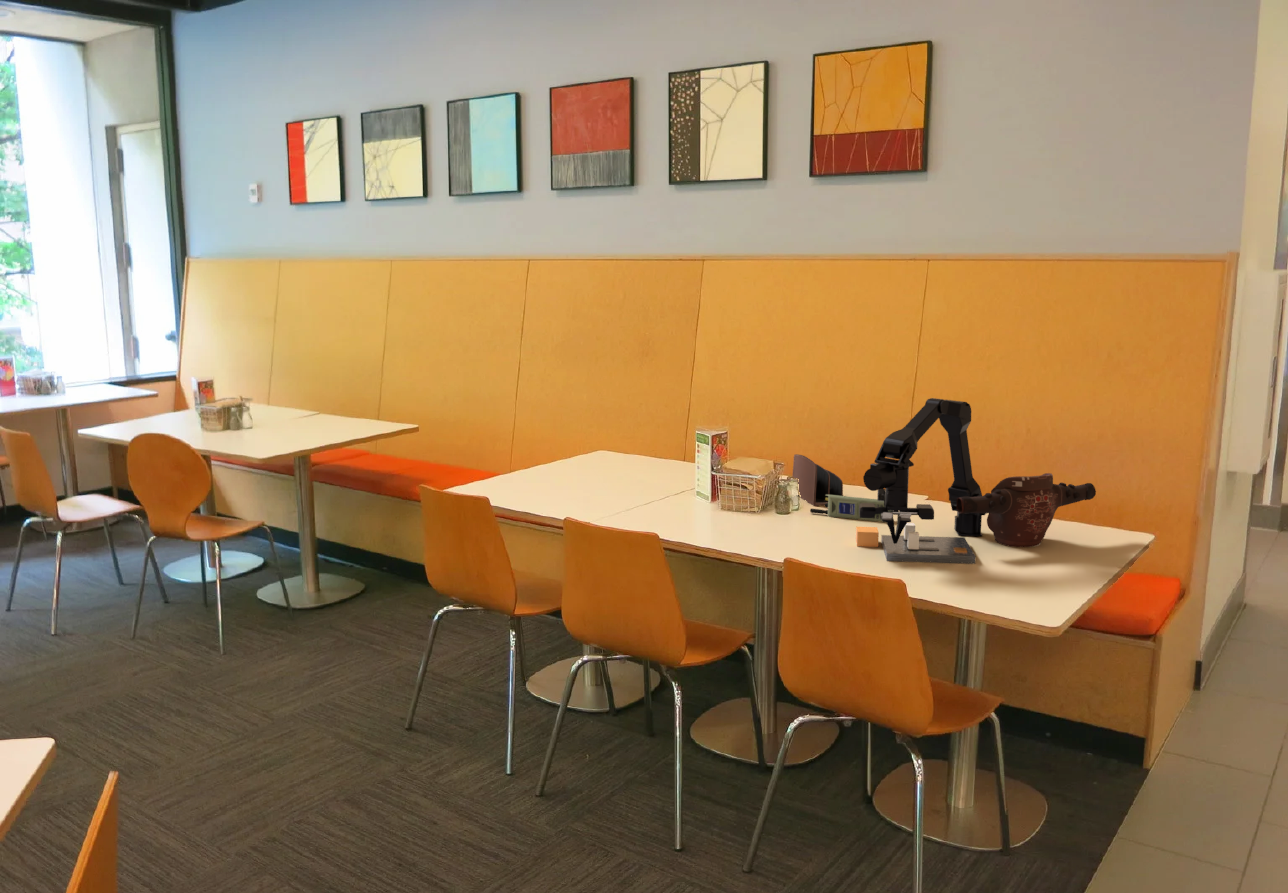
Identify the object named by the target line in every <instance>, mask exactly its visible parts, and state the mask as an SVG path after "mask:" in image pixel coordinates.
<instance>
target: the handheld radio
mask: <svg viewBox="0 0 1288 893" xmlns="http://www.w3.org/2000/svg"><path fill="white" fill-rule="evenodd" d="M825 496H828V498H826V499H825V500H827V501H828V503H826V504H825V505H824V507H825V508H827V509H820V508H810V510H809V511H810V513H811V514H821V515H824V514H825V515H827V517H828V516H829V517H831V518H838V517H840V518H841V519H847V518H849V520H857V519H859V520H860V521H866V520H868V522H876V521H882V519H881V514H875V516H874V517H873V518H860V516H859V505H860V504H861V503H874V504H875V507H885V506H884V501H878V500H877V498H867V497H857V496H846V495H843V496H838V495H825ZM840 518H839V519H840ZM859 520H858V521H859Z"/></svg>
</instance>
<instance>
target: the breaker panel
mask: <svg viewBox="0 0 1288 893" xmlns="http://www.w3.org/2000/svg"><path fill="white" fill-rule="evenodd" d="M907 542H908V540H905V539H904V535H900V537H899V539H898V542H897V544H894V543H893V540H892V536H891V534H889V535H888V534H881V540H880V543H881V545H882V550H883V553H884V556H885V559H886V561H887V562H909V563H910V562H912V563H935V564H936V563H940V564H941V563H942V564H966V565H967V564H968V565H969V564H971V565H975V564H976V555H975V553H974V551H973V549H972V548H971V546H970V544H969V543H968V541H967V539H966V537H965V536H963V537H958V536H957V537H956V536H925V535H923V536H922V535H919V549H908V547H907Z"/></svg>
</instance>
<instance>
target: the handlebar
mask: <svg viewBox="0 0 1288 893" xmlns="http://www.w3.org/2000/svg"><path fill="white" fill-rule="evenodd" d="M1096 493H1097V491H1096V487H1095V485H1094V484H1093V483H1091V482H1087V483H1082V484H1078V485H1073V483H1071V484H1068V485H1067V483H1065V482H1059V483H1058V484H1055V483H1054V476H1053V474H1052V473H1051V472H1048V473H1043V474H1041V475H1031V476H1026V475H1025V476H1024V475H1023V476H1021V475H1020V476H1008V477H1006V478H1004V479H1001V480H1000V481H999V482H998V483H997V484H996V485H995V486H994V487H993V488H992V489H991V491H990V492H986V493H985V494H984V495H982V496H979V497H968V496H964V497H960V498H958V499H957V505H956V507H957V511H958V513H960V514H961V513H962V514H969V513H987V514H988V515H987V517H986V525H987V527H988V529H990V531H991V532H992V533H993V538H994V541H995V542H996V543H997V544H999V545H1003V546H1006V547H1007V546H1008V547H1012V548H1031V547H1037V546H1039V545H1040V544H1041V543H1042V541H1043V540H1044V539H1045V535H1046V533H1047V531H1048V530H1049V528H1050V526H1051V524H1052V522H1053V518H1054V516H1055V513H1056V512H1057V510H1058V509H1059V508H1060V507H1063V506H1067V505H1071V504H1075V503H1079V502H1082V501H1089V500H1092V499H1094V497H1095V496H1096ZM957 511H956V512H957Z"/></svg>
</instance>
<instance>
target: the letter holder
mask: <svg viewBox="0 0 1288 893" xmlns="http://www.w3.org/2000/svg"><path fill="white" fill-rule="evenodd" d="M793 477H794V478H798V479H799V482H798V484H799V492H800V495H801V498H800V499H802V500H803V501H805V500H806V501H807V503H808V504H810V505H812V507H820V506H819V505H823V506H825V504H826V503H828V501H827V500H825V499H826V498H828V496H825V495H838V496H844V490H843V489H844V484H843V480H842V479H841V478H840V476H838V475H836V474H835V473H833V472H832V471H830V470H828V469H826V468H824V467H823V466H821V465H819V464H818V463H815V462H814V461H813V460H812V459H810V458H808V457H807V456H805V455H802V454H794V455H793V466H792V478H793ZM806 501H805V502H806Z"/></svg>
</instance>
